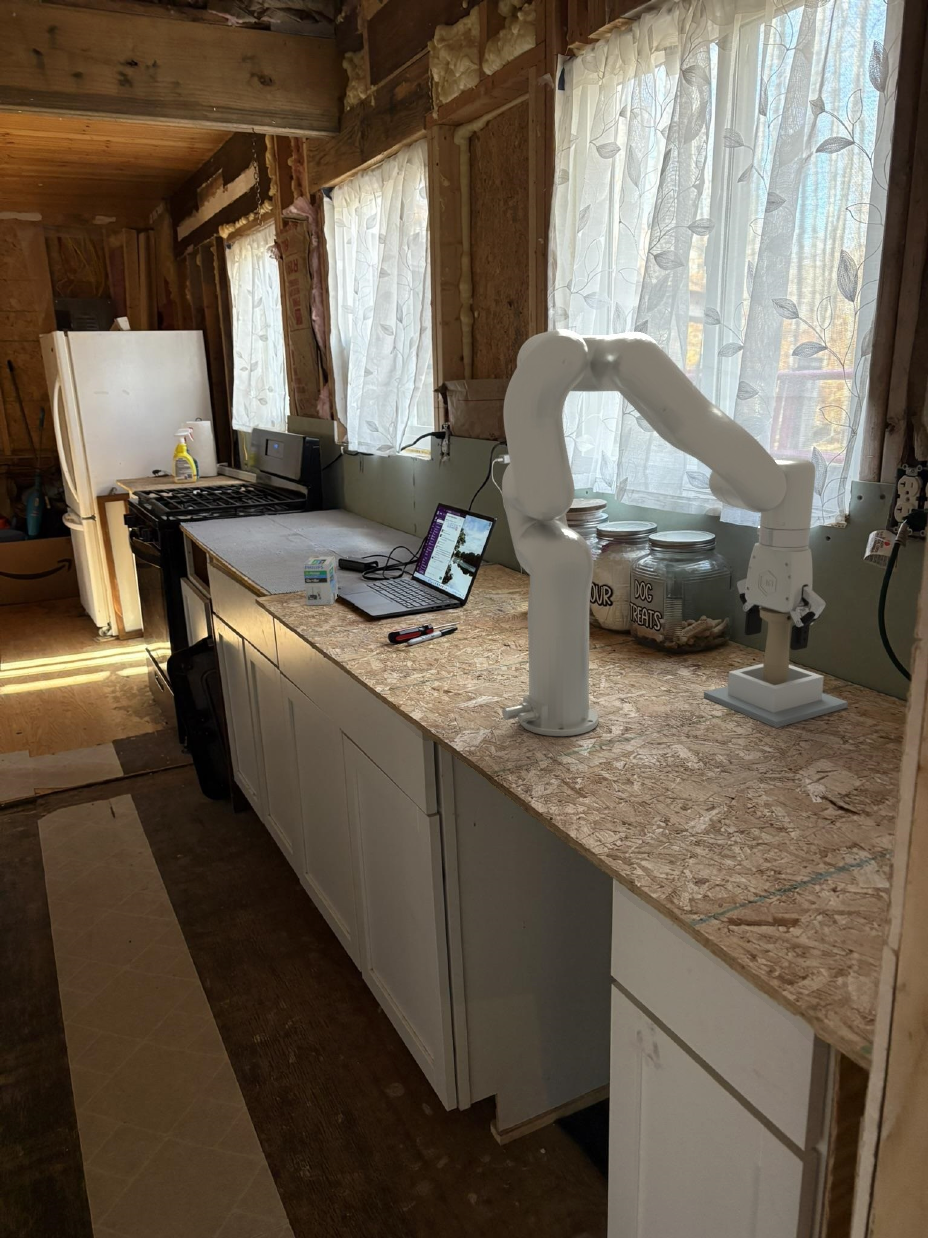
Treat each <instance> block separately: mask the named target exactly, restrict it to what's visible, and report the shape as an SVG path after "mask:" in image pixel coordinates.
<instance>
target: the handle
mask: <svg viewBox="0 0 928 1238" xmlns="http://www.w3.org/2000/svg"><path fill="white" fill-rule="evenodd" d="M759 610H760V617H761V618H762V620H764V621H766V622H767V623H768V624H767V625H768V626H767V627H768V629H767V635H766V643H765V651H764V657H763V662H762V664H763V681H764V682H767V683H769V684H772V685H778V684H782V683H786V682H787V677H788V668H789V665H790V639H791V635H790V634H791V633H790V632H791V624H792V623H794V620H793V618H792V616H791V614H790V612H788V613H783V612H779V611H775V610H772V609H768V608H764V607H760V609H759ZM799 613H800V615H801V616H802V614H801V612H799Z"/></svg>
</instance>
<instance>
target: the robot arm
mask: <svg viewBox="0 0 928 1238" xmlns="http://www.w3.org/2000/svg"><path fill="white" fill-rule="evenodd" d="M689 378H690V377H688V376H687V375H686V374H685V373H684V371H683V370H682V369H681V368H680V367H679V366H678V365H677V364H676V363H675V362H674V360H673V359H672V358H671V357H670V356H669V354H668V353H667V352H666V351H665V350H664V349H663V347H661V346H660V344H659V343H657V342H656V341H655V339H653V338H652V337H650V336H649V335H647V334H645V333H643V332H639V331H631V332H629V331H628V332H623V333H617V334H609V335H607V334H605V335H579V334H578V333H576V332H574V331H571V330H569V329H552V330H548V331H545V332H542V333H538V334H535V335H533V336H531V337H529V338H528V339H527V340H526V341H524V343H523V344H522V345H521V347H520V349H519V351H518V353H517V358H516V368H515V370H514V372H513V374H512V376H511V379H510V380H509V384H508V386H507V388H506V392H505V396H504V402H503V414H502V415H503V426H504V433H505V438H506V444H507V452H508V457H509V464H508V465H507V466H506V469H505V471H504V473H503V475H502V481H501V482H502V484H501V488H502V489H501V490H502V498H503V503H504V508H505V509H504V510H505V512H506V513H505V514H506V519H507V523H508V527H509V532H510V537H511V541H512V546H513V548H514V553H515V557H516V559H517V561H518V562H519V565H520V566H521V567H522V569H523V570H524V571H525V572H527V574H528V575H529V592H528V601H527V602H528V603H527V633H528V635H527V636H528V640H527V641H528V642H527V643H528V694H527V695H523V696H522V702H519V704H518V705H515V706H514V705H512V706H507V707H504V708H503V709H502V711H501V713H502V718H503V719H504V720H505V721H509V720H512V719H513V720H514V719H517V720H518V721H519V723H520V725H521V726H522V727H523V728H524V729H525V730H527V731H529V732H532V733H534V734H539V735H544V736H549V737H570V736H578V735H581V734H585V733H588V732H591V731H592V730H593V729H595V728H596V727H597V726H598V724H599V714H598V712H597V711H596V710H595V709H593V708H592V707H590V706H589V705H590V704H589V703H590V702H589V701H590V699H589V698H590V602H591V601H590V600H591V593H592V584H593V578H594V565H595V564H594V556H593V552H592V550H591V548H590V546H589V543H588V542H587V540H586V539H585V538H584V537H583V536H582V535H581V534H580V533H578V532H577V531H575V530H574V529H572V528H570V527H569V525H568V522H567V521H568V520H567V515H566V514H567V512H569V510H570V509H571V507H572V504H574V503H573V502H574V499H575V491H576V490H575V483H574V478H573V473H572V470H571V465H570V459H569V455H568V448H567V444H566V439H565V433H564V432H565V431H564V430H565V429H564V421H563V412H564V405H565V404H566V403H565V402H566V401H567V397H568V395H569V393H570V392H586V393H589V392H618V393H619V394H620V395H621V396H622V397H623V398H624V399H625V400H626V402H628V403H629V405H630V406H632V408H633V409H634V410H636V412H637V413H638V414H639V415H640V416H641V417H642V418H643V419H644V420H645V421H646V422H647V424H648V425H649V426H650V427H651V428H652V429H653V430H654V431H655V432H656V433H657V434H658V436H659V437H660V438H662V440H664V441H665V442H667V443H668V444H669V445H670V446H672V447H674V448H675V449H677V450H678V451H681V452H683V453H685V454H687V455H688V456H691V457H692V458H695V459H696V460H698V461H699V462H700V463H702V464H703V465H705V467H707V468H709V469H710V471H711V472H710V475H709V478H708V485H709V491H710V492H711V494H712V496H714V498H715V499H716V500H718V501H719V502H720V503H722V504H725V505H727V506H730V507H735V508H738V509H741V510H744V511H748V512H753V513H758V514H760V519H759V520H760V522H759V526H758V527H757V528H756V533H757V535H758V542H755V544H754V546H753V548H752V551H751V555H750V559H749V563H748V569H747V575H746V578H744V579H742V580H739V581H737V582H736V587H737V589H738V594H739V599H740V601H741V604H742V605H743V606H742V610H743V611H744V612H745V621H744V636H752V635H757V634H760V633H762V625H763V619H762V618H761V617H760V608H763V607H764V608H768V609H772V610H775V611H779V612H783V613H788V612H790V614H791V616H792V618H793V620H794V621H793V623H795V624H794V625H792V626H791V631H790V632H791V633H790V634H791V635H790V642H789V649H790V650H791V651H798V650H804V649H807V648H808V644H809V643H808V642H809V632H810V625H813V624H814V623H815V621H817V620H818V619H819V618H820V616H821V613H822V612H823V610H824V609H825V607H826V602H825V600H824V599H823V598H822V597H820V596H819V595H818V594H817V593H816V592H815V591H814V590H813V579H814V578H813V577H814V576H813V559H812V558H813V557H812V550H811V548H810V547H809V543H810V534H811V533H810V532H811V526H812V525H811V522H812V514H813V513H812V512H813V502H814V491H815V480H816V466H815V463H814V462H812V461H811V460H809V459H803V458H790V457H789V458H788V457H787V458H786V457H785V458H773V456H772V455H771V454H770V453H769V452H768V451H767V449H766V448H765V447H764V446H763V445H761V443H760V442H759V441H758V440H757V439H756V438H755V437H754V436H753V435H752V434H751V433H749V432H748V431H747V430H746V429H745V428H744V427H743V426H741V425H740V424H739V423H737V421H735V420H733V419H732V417H730V416H729V415H727V414H726V413H725V411H723V410H722V409H721V408H719V407H718V406H717V405H715V404H714V403H713V402H712V401H710V400H709V399H708V398H707V397H706V396H705V395H704V394H703V393H702V392H701V390H700V389H699V388H697V386H696V385H695V384H694V383H693V382H692V381H691V380H690V379H689ZM809 608H810V609H809ZM799 612H801V615H800V613H799Z"/></svg>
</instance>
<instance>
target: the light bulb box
mask: <svg viewBox="0 0 928 1238" xmlns="http://www.w3.org/2000/svg"><path fill="white" fill-rule="evenodd" d="M337 574H338V573H337V561H336V556H335V555H332V556H325V555H324V556H322V555H321V556H314V555H313V556H309V558H308V559H307V560H306V561H305V562H304V563H303V576H304V578H303V579H304V587H305V589H304V590H305V601H306V606H332V605H333V604H334V603H335V601H336V599H337V598H338V597H337V594H338V595H339V588H338V587H339V586H338V577H337V576H338V575H337Z"/></svg>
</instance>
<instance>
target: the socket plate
mask: <svg viewBox="0 0 928 1238" xmlns="http://www.w3.org/2000/svg"><path fill="white" fill-rule="evenodd" d="M824 677H825V676H824V675H820V674H819V673H818V674H817V673H815V672H812V671H809V670H806V669H803V668H799V667H797V666H794V665H792V664H789V668H788V677H787V682H786V683H782V684H778V685H772V684H769V683H767V682H764V681H763V663H760V664H755V665H751V666H748V667H744V668H740V669H735V670H731V671H728V679H727V682H728V684H727V685H726V686H722V687H718V688H714V689H710V690H705V691H704V692H703V698H704V699H707V700H709V701H710V702H713V703H716V704H718V705H721V706H724V707H726V708H727V709H729V710H730V709H731V710H733V711H734V712H735V711H736V712H737V713H740V714H743V715H744V716H747V717H750V718H752V719H754V720H757V721H759V722H761V723H764V724H765V725H768V726H771V727H773V728H776V729H778V728H780V727H784V726H787V725H791V724H795V723H799V722H802V721H805V720H808V719H812V718H816V717H819V716H823V715H826V714H829V713H832V712H833V713H834V712H836V711H841V710H844V709H847V708H848V704H849V703H848V701H847V700H843V699H841V698H838V697H835V696H832V695H829V694H828V693H827V694H826V693H825V692H823V689H824Z"/></svg>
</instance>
